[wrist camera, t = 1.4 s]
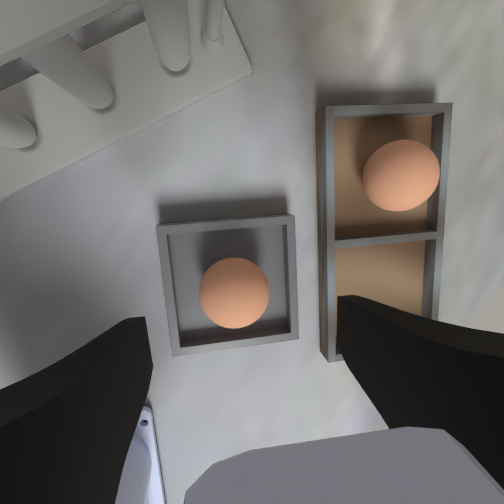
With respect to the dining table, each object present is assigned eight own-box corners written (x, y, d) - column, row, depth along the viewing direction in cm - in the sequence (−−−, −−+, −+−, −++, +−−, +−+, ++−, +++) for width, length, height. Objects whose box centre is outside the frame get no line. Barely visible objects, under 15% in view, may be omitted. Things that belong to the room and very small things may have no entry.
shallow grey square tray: (292, 329, 21) (298, 339, 20) (174, 344, 20) (172, 356, 19) (287, 213, 20) (294, 215, 18) (159, 223, 18) (155, 226, 17)
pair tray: (421, 336, 23) (436, 346, 22) (320, 351, 22) (328, 362, 20) (434, 108, 20) (452, 102, 18) (315, 112, 19) (325, 105, 17)
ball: (406, 207, 20) (455, 210, 16) (350, 211, 20) (386, 216, 16) (409, 143, 19) (460, 131, 16) (350, 146, 19) (388, 135, 15)
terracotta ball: (264, 308, 20) (278, 336, 16) (202, 315, 19) (202, 346, 16) (260, 248, 19) (275, 263, 15) (196, 254, 19) (194, 271, 15)
